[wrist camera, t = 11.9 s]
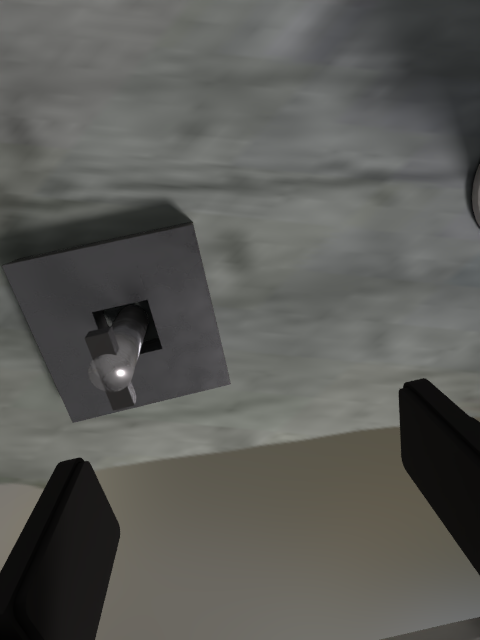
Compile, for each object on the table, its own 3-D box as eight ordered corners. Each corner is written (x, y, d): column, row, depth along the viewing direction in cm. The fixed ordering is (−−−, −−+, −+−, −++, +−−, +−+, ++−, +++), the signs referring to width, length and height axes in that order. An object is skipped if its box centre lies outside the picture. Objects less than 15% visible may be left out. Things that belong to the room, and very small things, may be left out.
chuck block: (192, 221, 33) (193, 224, 30) (227, 370, 38) (230, 384, 36) (18, 258, 32) (1, 265, 29) (81, 405, 38) (72, 422, 35)
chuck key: (139, 287, 34) (118, 330, 24) (156, 343, 36) (143, 403, 26) (108, 294, 34) (73, 340, 24) (127, 349, 36) (103, 413, 26)
